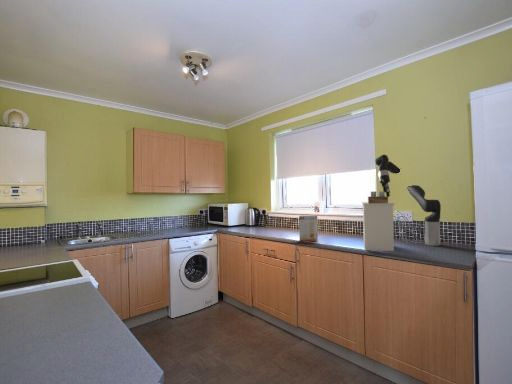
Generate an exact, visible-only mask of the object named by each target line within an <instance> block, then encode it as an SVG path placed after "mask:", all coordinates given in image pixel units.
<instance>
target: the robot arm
mask: <svg viewBox="0 0 512 384" xmlns="http://www.w3.org/2000/svg"><path fill="white" fill-rule="evenodd" d="M374 163H375V165H377V166H378V179H379V183H380V185H381V187H382V189H383V191H384V194H385V195H386V196H387V197H388V198H389V197H391V196H390V195H391V189H390V185H389V183H390V182H391V179H390V173H391V174H396V175H398V174H397V173H399V172H400V169H401V168H400V167H399V168H400V169H399V168H398V165H396V164H395V163H394V162H392V161H390V160H389V157H388V155H386V154H381V155H380V156H379V157H376V158H375V159H374ZM411 185H412V184H411ZM407 189H408V191H409V192H408V191H407V192H408V193H409V195H411V197H412V198H414V200H415V201H416V202H417V204H418V205H419V206H420V208H421V209H422V210H423V211H424V212H425V213H431V214H430V215H427V216H425V217H424V244H425V245H427V246H432V247H433V246H434V247H436V246H438V247H439V246H440V245H441V234H440V233H441V232H440V231H441V229H440V227H441V225H440V224H441V222H440V220H441V209H442V208H441V207H442V206H441V203H440V200H439V199H427V198H425V197H426V191H425V190H424V189H423V188H422V187H421V186H419V185H415V184H413V185H412V186H408V187H407ZM407 189H406V190H407Z"/></svg>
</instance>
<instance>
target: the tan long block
mask: <svg viewBox="0 0 512 384" xmlns="http://www.w3.org/2000/svg"><path fill="white" fill-rule="evenodd" d="M385 195H386V193H384V191H382V190H381V191H380V190H379V191H378V196H377V191H370V196H367V202H368V203H388V202H389V197H387V196H385Z"/></svg>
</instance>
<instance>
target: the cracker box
mask: <svg viewBox="0 0 512 384" xmlns="http://www.w3.org/2000/svg"><path fill="white" fill-rule="evenodd" d="M298 218H299V219H298V220H299V221H298V222H299V224H298V227H299V228H298V229H299V241H303V242H318V241H319V238H318V237H319V234H318V233H319V231H318V230H319V229H318V215H310V214H309V215H303V214H302V215H299V216H298Z"/></svg>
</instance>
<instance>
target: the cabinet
mask: <svg viewBox="0 0 512 384" xmlns="http://www.w3.org/2000/svg"><path fill="white" fill-rule="evenodd" d="M361 204H362V213H363V214H362V220H363V221H362V223H363V224H362V225H363V229H362V230H363V247H364V250H365V251H382V252H385V251H386V252H395V240H394V239H395V235H394V234H395V232H394V231H395V230H394V229H395V227H394V206H395V203H394V202H391V201H388V203H368V201H362V203H361Z"/></svg>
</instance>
